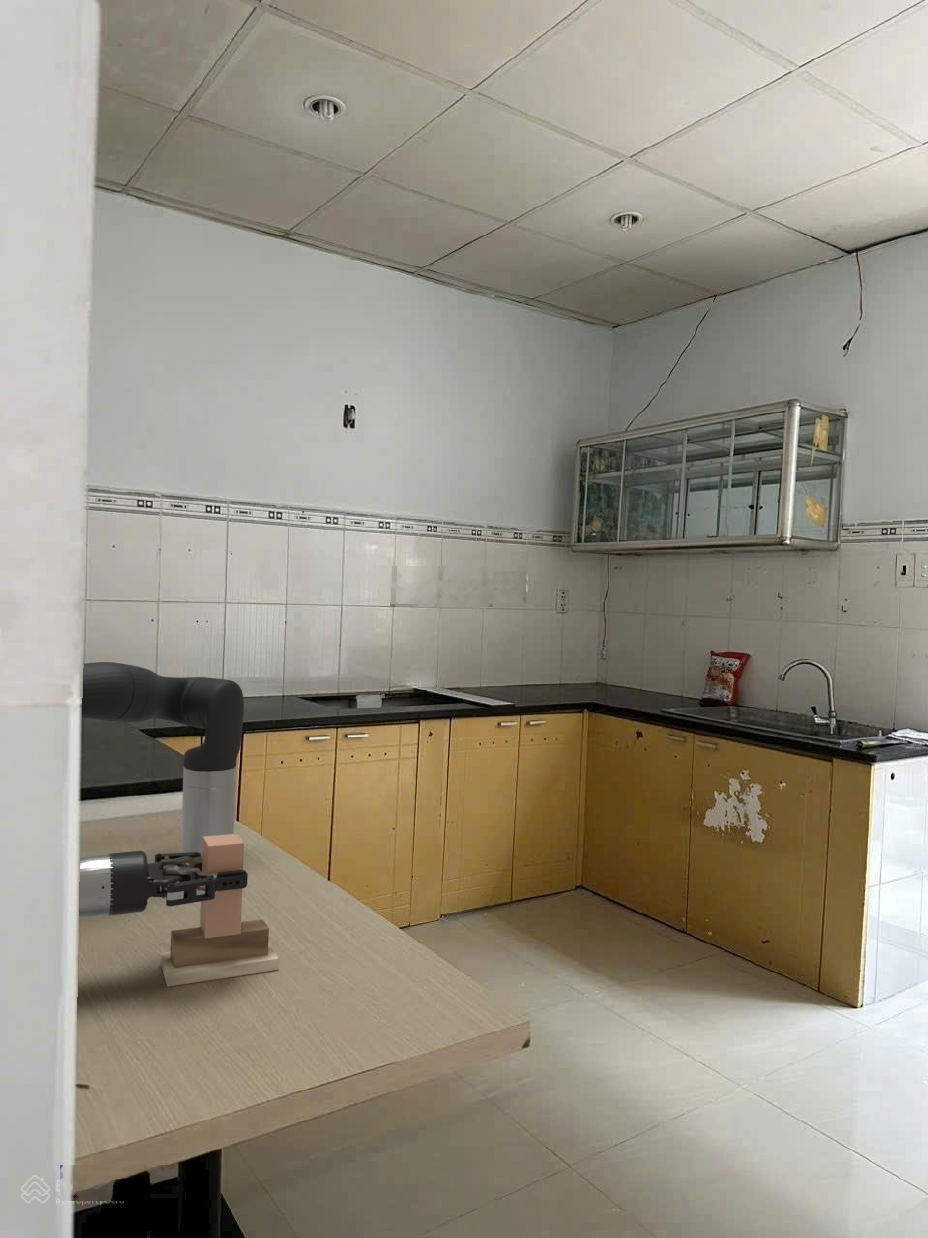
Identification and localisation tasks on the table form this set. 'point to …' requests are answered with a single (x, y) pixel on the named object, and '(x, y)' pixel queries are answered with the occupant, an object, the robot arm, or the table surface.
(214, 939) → the stand
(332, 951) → the table surface
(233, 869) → the block
